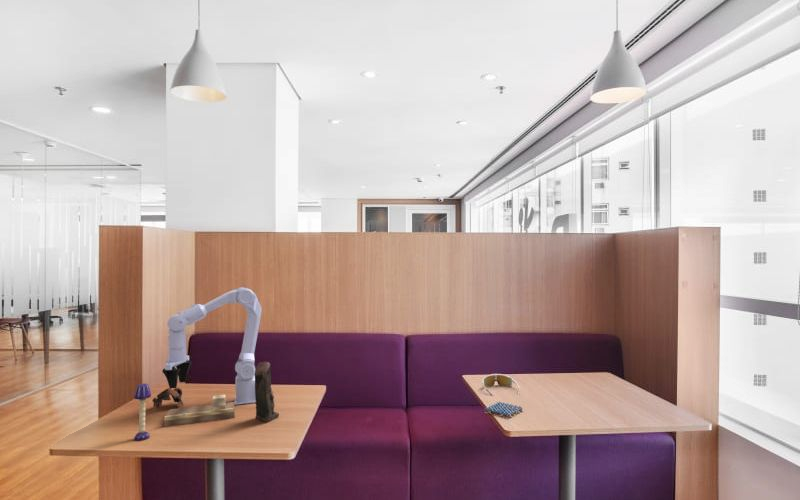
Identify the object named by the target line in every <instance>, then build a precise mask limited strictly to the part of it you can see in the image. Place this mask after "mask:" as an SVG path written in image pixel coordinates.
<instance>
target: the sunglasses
mask: <svg viewBox="0 0 800 500" xmlns="http://www.w3.org/2000/svg"><path fill="white" fill-rule="evenodd" d="M481 381H482V383H481V384H482V387H483V388H484V389H485V391H487V392H488V394H489V395H491V396H492V397H494V394H493V393H492V392H491V391H490V390H489V389H488V388H487V387H493V386H494V385H495V383H496V382H497V384H498V386H502V387H503V386H505V387H510V388H511V387H512V386H513V384H515V385H516V386H517V387H518V388H517V389H518V390H520V386H519V384H518V382H517V381H516V380H514V378H512V377H511V376H509V375H506V374H502V373H491V374H488V375H486V376H485V377H483V378H482V380H481ZM519 394H520V391H518V393H517V396H519Z"/></svg>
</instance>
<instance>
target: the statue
mask: <svg viewBox="0 0 800 500" xmlns="http://www.w3.org/2000/svg"><path fill="white" fill-rule="evenodd" d="M254 375H255V399H256V402H255V411H256V412H255V421H262V422H264V423H269V422H271V421H273V420H275V419H277V418H279V417H280V413H279V412H277V411H275V407H276V406H275V400H274V399H275V395H274V391H273V390H272V381H271V380H272V375H271V363H270V362H268V361H263V362H259V363H258V364H257V365H256V367H255V374H254Z"/></svg>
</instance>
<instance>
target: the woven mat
mask: <svg viewBox="0 0 800 500" xmlns="http://www.w3.org/2000/svg"><path fill="white" fill-rule="evenodd" d="M522 412H524V409H523V407H522V406H517V404H515V405H513V404H512V403H510V404H509V403H505V402H501V401H498V402H496V403H494V404H491V405H489V406H486V407H485V408H484V412H483V413H485V414H489V415H493V416H496V417H500V418H504V419H508V420H510V419H511V418H514V417H515V416H517V415H518V414H521V413H522Z"/></svg>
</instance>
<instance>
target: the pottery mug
mask: <svg viewBox="0 0 800 500" xmlns="http://www.w3.org/2000/svg"><path fill="white" fill-rule="evenodd" d="M182 397H183V390H182V389H181V388H180V387H176V388H173V389H172V388H170V387H167V388H166V389H164V390H163V391H161V392H160V393H158V394H157V395H156V397H154V398H153V399H152V400H151V402H152V403H153V405H152V406H153V408H155V407H156V408H157V409H158V408H159V407H160V406H162V405H163V401H171V398H172V400H173V402H174V403H176V404H175V406H176V407H177V408H183V406H184V403H183V400H182Z"/></svg>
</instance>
